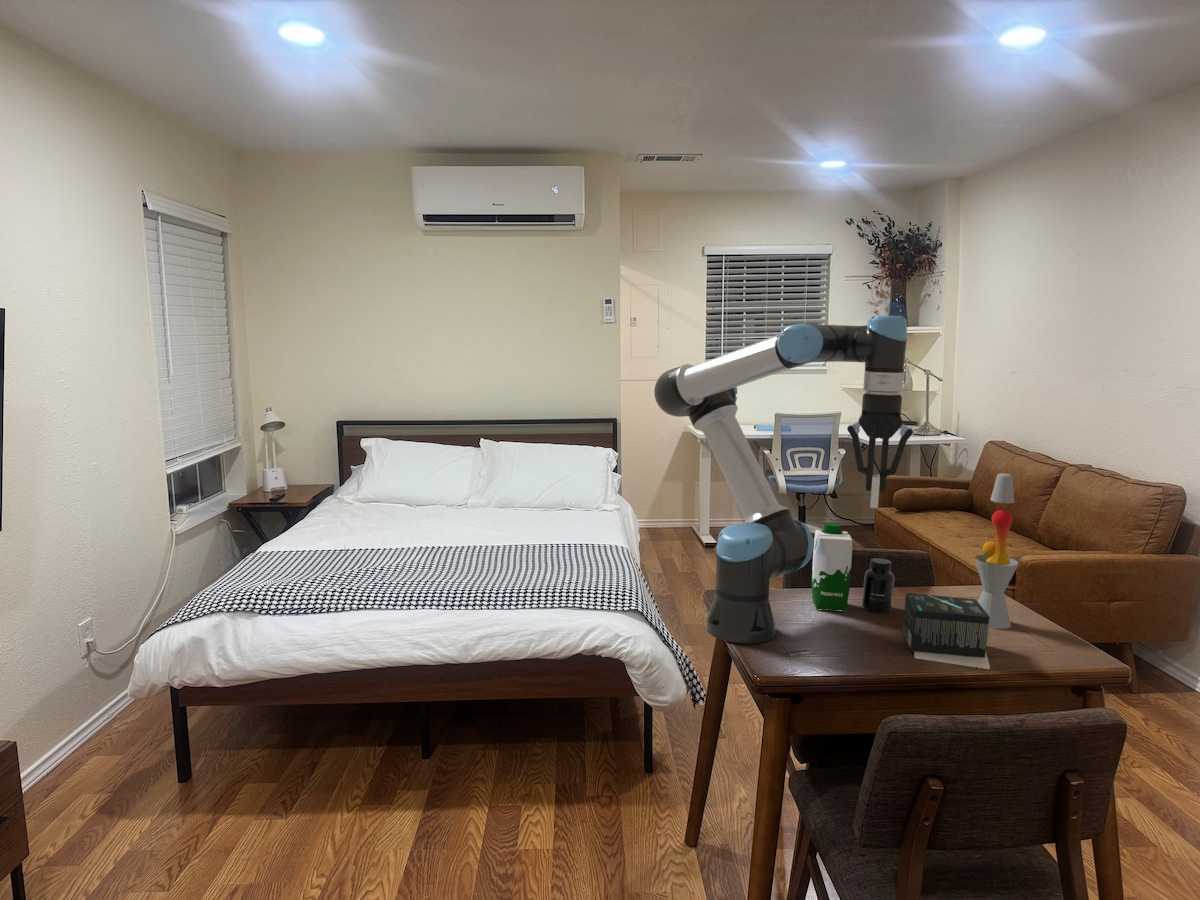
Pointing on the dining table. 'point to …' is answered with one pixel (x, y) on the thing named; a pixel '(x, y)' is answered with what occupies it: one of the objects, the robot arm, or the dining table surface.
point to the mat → (954, 659)
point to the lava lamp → (997, 559)
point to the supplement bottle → (878, 586)
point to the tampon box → (945, 625)
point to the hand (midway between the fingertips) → (874, 506)
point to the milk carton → (831, 567)
